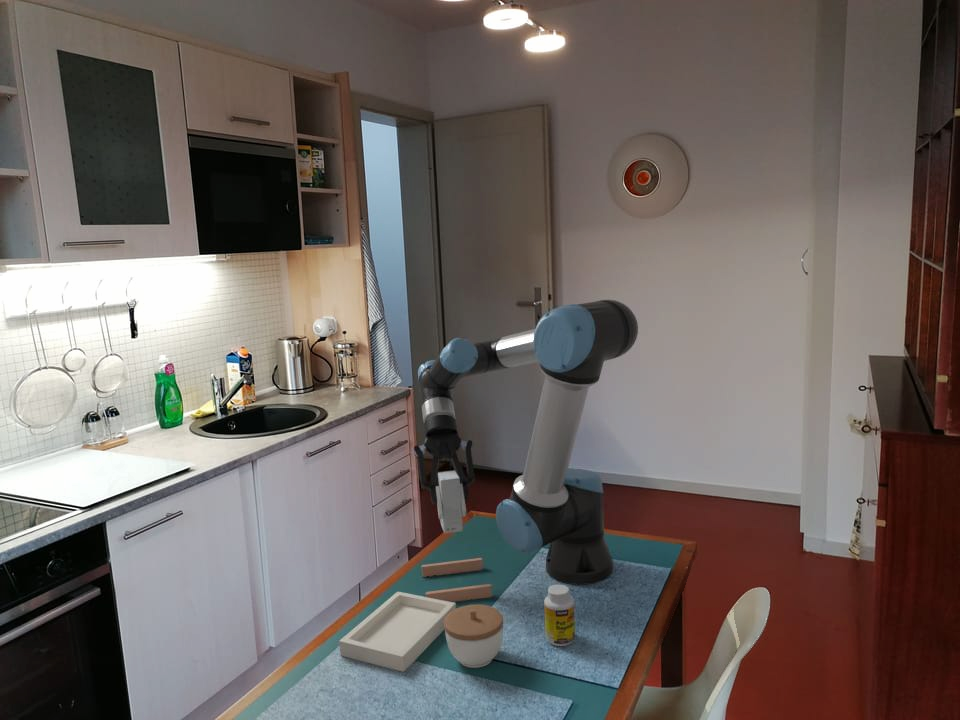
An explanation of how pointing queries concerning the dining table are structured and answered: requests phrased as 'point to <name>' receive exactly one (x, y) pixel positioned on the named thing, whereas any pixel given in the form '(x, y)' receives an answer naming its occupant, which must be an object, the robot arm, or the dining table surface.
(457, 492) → the skincare box
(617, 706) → the dining table surface
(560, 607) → the supplement bottle
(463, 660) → the lidded jar
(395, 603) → the cream tray
